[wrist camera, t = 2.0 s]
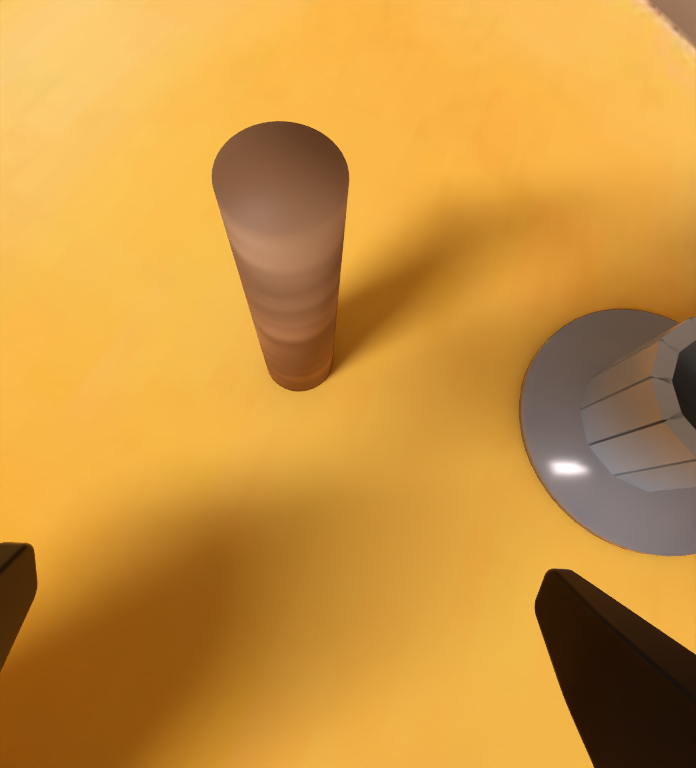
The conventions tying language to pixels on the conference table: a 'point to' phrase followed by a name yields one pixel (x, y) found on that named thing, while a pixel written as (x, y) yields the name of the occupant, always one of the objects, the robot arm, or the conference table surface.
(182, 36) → the conference table surface
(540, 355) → the grey flared collar base
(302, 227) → the brown wooden dowel
